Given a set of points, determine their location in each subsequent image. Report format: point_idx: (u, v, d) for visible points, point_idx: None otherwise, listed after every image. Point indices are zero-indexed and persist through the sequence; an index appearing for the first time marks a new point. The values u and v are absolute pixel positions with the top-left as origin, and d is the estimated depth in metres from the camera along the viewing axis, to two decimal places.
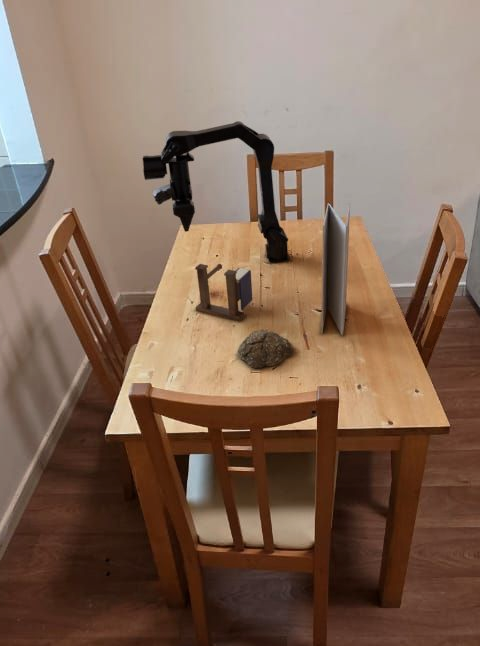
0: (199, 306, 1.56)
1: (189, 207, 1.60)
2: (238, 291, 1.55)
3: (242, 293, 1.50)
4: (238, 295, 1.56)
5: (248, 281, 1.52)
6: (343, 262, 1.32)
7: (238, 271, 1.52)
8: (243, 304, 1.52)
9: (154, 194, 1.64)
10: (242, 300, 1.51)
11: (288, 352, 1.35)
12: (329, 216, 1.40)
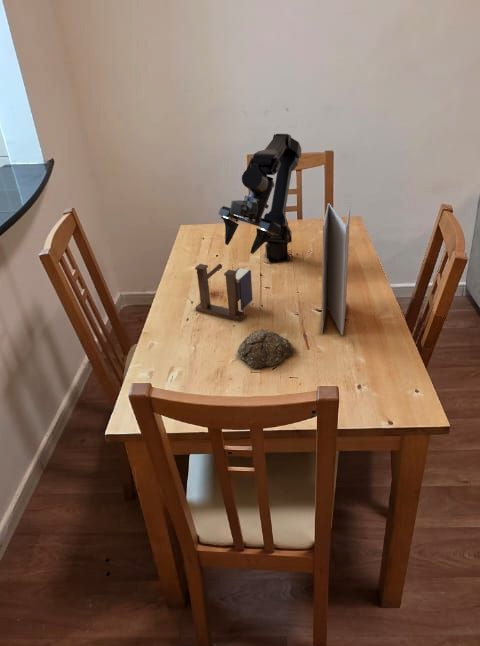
0: (199, 306, 1.56)
1: (279, 228, 1.54)
2: (238, 291, 1.55)
3: (242, 293, 1.50)
4: (238, 295, 1.56)
5: (248, 281, 1.52)
6: (343, 262, 1.32)
7: (238, 271, 1.52)
8: (243, 304, 1.52)
9: (241, 204, 1.50)
10: (242, 300, 1.51)
11: (288, 352, 1.35)
12: (329, 216, 1.40)
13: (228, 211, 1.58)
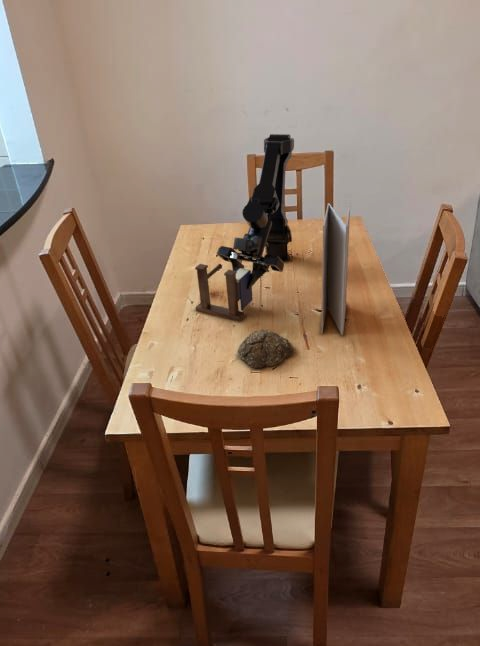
0: (199, 306, 1.56)
1: (283, 264, 1.52)
2: (238, 291, 1.55)
3: (242, 293, 1.50)
4: (238, 295, 1.56)
5: None
6: (343, 262, 1.32)
7: (238, 271, 1.52)
8: (243, 304, 1.52)
9: (246, 239, 1.47)
10: (242, 300, 1.51)
11: (288, 352, 1.35)
12: (329, 216, 1.40)
13: (228, 250, 1.54)
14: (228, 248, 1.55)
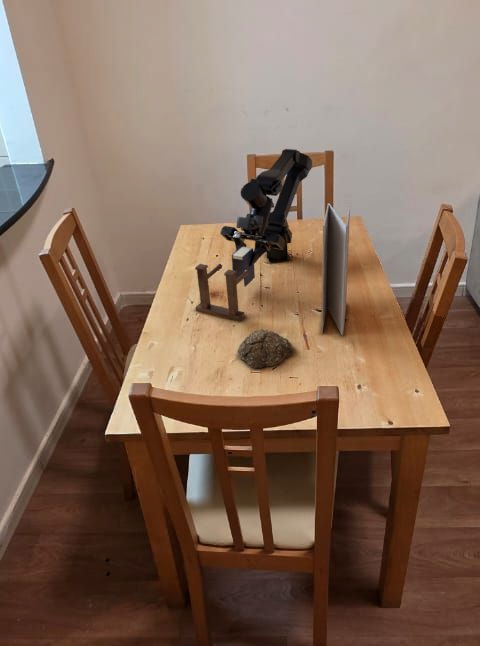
0: (199, 306, 1.56)
1: (284, 242, 1.59)
2: (241, 269, 1.63)
3: None
4: (241, 272, 1.63)
5: (250, 259, 1.59)
6: (343, 262, 1.32)
7: (241, 249, 1.59)
8: (246, 281, 1.59)
9: (249, 218, 1.54)
10: (245, 277, 1.58)
11: (288, 352, 1.35)
12: (329, 216, 1.40)
13: (231, 229, 1.62)
14: (231, 228, 1.62)
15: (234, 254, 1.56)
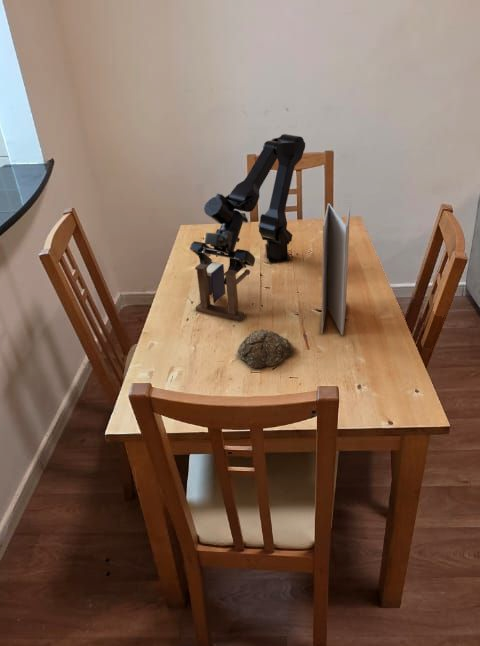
0: (199, 306, 1.56)
1: (254, 258, 1.56)
2: (211, 284, 1.60)
3: (214, 286, 1.54)
4: (211, 288, 1.60)
5: (220, 275, 1.56)
6: (343, 262, 1.32)
7: (211, 265, 1.56)
8: (215, 297, 1.56)
9: (217, 234, 1.51)
10: (214, 293, 1.55)
11: (288, 352, 1.35)
12: (329, 216, 1.40)
13: (200, 245, 1.58)
14: (201, 243, 1.59)
15: None
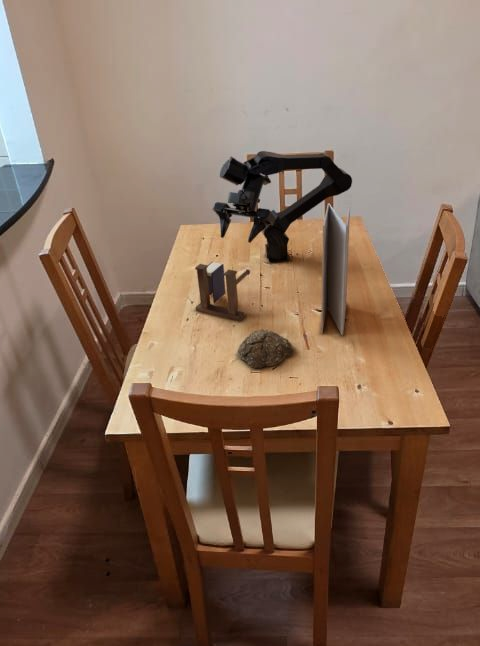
0: (199, 306, 1.56)
1: (274, 217, 1.64)
2: (211, 284, 1.60)
3: (214, 286, 1.54)
4: (211, 288, 1.60)
5: (220, 275, 1.56)
6: (343, 262, 1.32)
7: (211, 265, 1.56)
8: (215, 297, 1.56)
9: (240, 193, 1.59)
10: (214, 293, 1.55)
11: (288, 352, 1.35)
12: (329, 216, 1.40)
13: (223, 205, 1.66)
14: (223, 203, 1.66)
15: None
